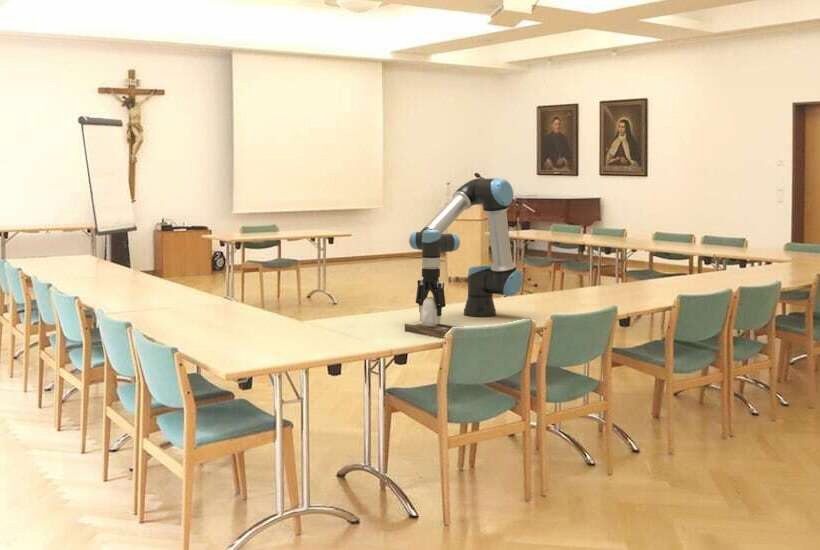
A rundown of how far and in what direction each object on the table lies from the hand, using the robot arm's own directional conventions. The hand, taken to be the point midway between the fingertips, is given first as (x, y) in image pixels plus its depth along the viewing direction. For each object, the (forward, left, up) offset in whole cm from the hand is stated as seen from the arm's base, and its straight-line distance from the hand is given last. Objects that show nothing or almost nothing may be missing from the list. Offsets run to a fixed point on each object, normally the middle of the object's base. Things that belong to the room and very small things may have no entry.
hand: (430, 322), depth 370 cm
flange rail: (0, +2, -4) cm, 5 cm away
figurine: (0, 0, -1) cm, 1 cm away
